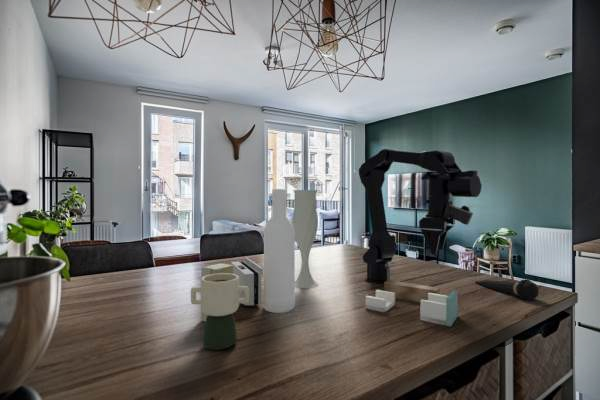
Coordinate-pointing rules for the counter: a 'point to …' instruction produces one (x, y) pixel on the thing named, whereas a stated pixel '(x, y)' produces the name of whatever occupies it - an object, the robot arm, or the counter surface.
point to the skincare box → (215, 270)
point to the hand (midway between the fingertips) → (437, 251)
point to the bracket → (249, 279)
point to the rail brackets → (421, 306)
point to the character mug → (219, 308)
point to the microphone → (513, 287)
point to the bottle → (279, 257)
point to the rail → (410, 290)
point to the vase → (305, 232)
